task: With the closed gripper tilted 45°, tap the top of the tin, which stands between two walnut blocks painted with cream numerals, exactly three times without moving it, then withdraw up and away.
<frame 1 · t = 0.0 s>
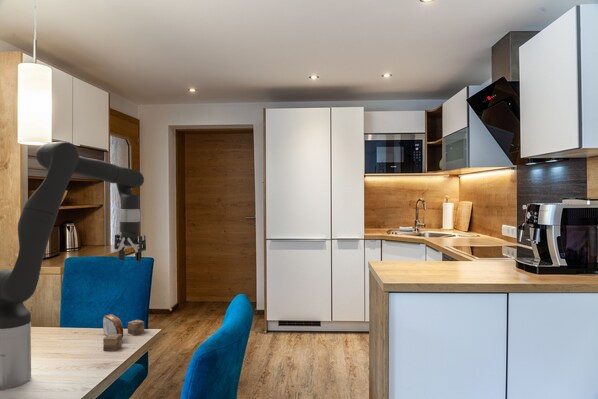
hand: (130, 260, 160), 29 cm above the table, tool pointing down, fingers open, 8 cm apart
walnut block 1: (112, 348, 145), on the table
tin: (112, 338, 156), on the table
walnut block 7: (136, 333, 162), on the table
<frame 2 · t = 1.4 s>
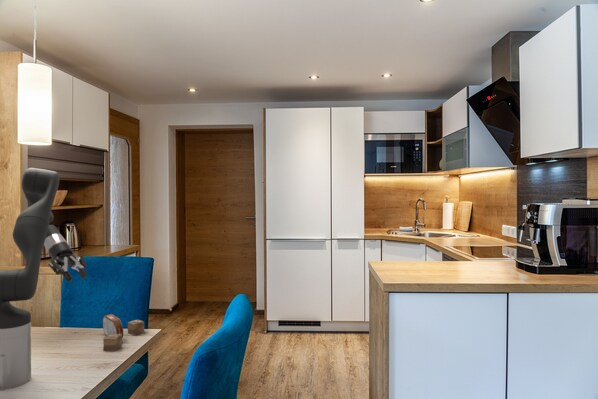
hand: (78, 278, 159), 22 cm above the table, tool tilted 45°, fingers open, 5 cm apart
nothing on the table moved.
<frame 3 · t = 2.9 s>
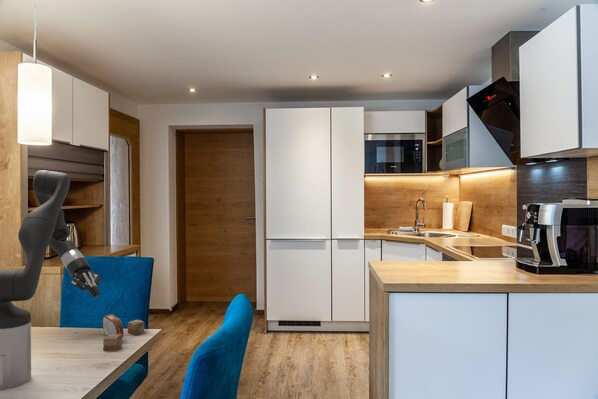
hand: (97, 295, 158), 16 cm above the table, tool tilted 45°, fingers closed
nothing on the table moved.
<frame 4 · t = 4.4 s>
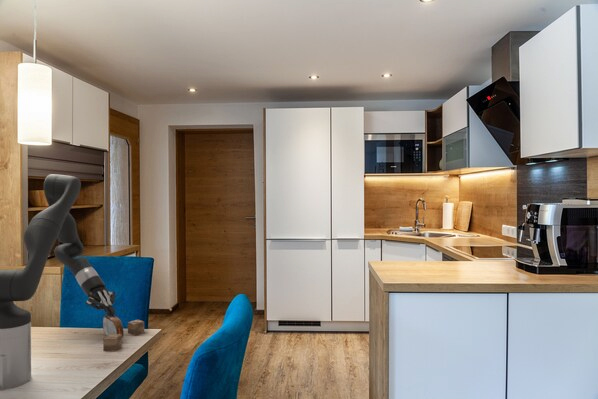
hand: (112, 314, 156), 9 cm above the table, tool tilted 45°, fingers closed
tin: (112, 338, 156), on the table, touching gripper
everything else where it was.
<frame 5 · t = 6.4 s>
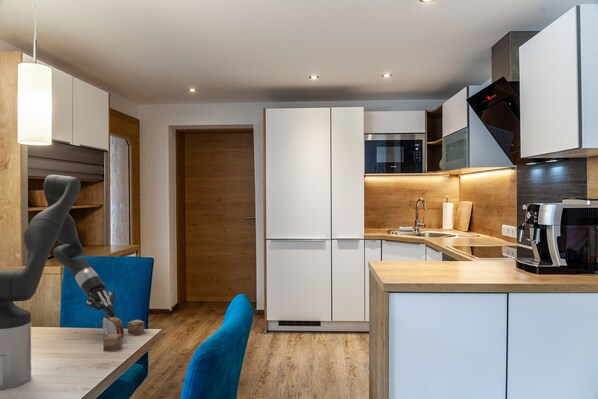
hand: (112, 315, 156), 9 cm above the table, tool tilted 45°, fingers closed
nothing on the table moved.
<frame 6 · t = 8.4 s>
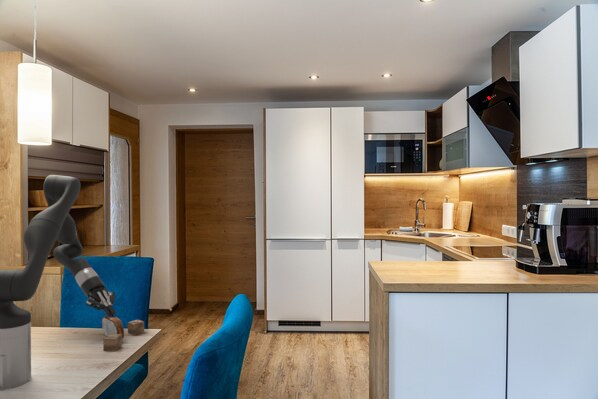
hand: (112, 315, 156), 9 cm above the table, tool tilted 45°, fingers closed
nothing on the table moved.
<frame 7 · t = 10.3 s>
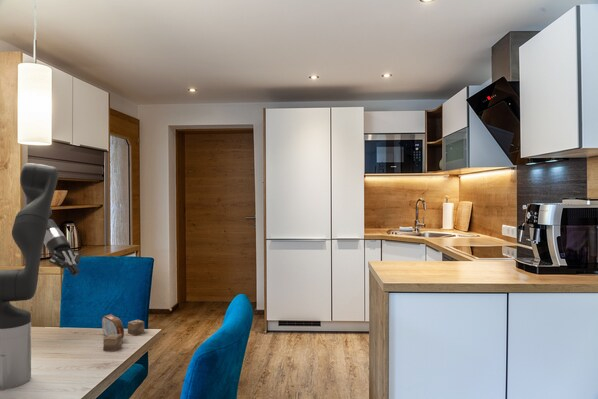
hand: (76, 274, 156), 25 cm above the table, tool tilted 45°, fingers closed
tin: (112, 338, 155), on the table
everything else where it was.
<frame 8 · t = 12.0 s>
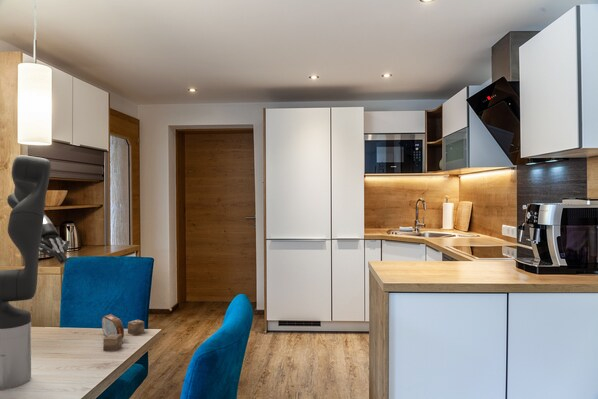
hand: (64, 262, 153), 30 cm above the table, tool tilted 45°, fingers closed
nothing on the table moved.
at the end: tin moved 0.4 cm from its start; tin tilted 0°; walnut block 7 moved 0.1 cm from its start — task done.
